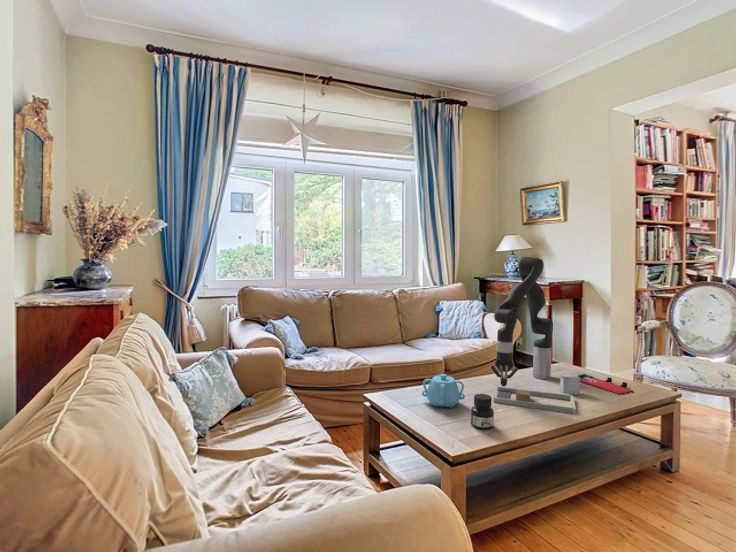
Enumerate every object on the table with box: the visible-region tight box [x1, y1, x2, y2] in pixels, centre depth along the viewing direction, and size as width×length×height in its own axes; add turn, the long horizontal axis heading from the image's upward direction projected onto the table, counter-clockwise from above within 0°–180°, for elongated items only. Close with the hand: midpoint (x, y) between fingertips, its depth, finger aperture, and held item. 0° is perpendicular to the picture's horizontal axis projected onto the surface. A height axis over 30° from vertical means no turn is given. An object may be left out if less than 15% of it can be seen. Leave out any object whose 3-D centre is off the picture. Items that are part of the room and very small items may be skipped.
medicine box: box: [559, 374, 581, 395], centre depth 207 cm, size 8×4×9 cm, turn 84°
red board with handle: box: [576, 373, 634, 396], centre depth 221 cm, size 30×3×15 cm
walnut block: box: [515, 388, 531, 402], centre depth 198 cm, size 6×6×4 cm
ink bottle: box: [470, 393, 495, 431], centre depth 168 cm, size 10×9×12 cm
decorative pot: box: [421, 373, 466, 408], centre depth 192 cm, size 16×16×14 cm
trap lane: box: [493, 385, 577, 415], centre depth 196 cm, size 19×34×2 cm, turn 67°
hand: (503, 385), depth 201 cm, fingers closed
